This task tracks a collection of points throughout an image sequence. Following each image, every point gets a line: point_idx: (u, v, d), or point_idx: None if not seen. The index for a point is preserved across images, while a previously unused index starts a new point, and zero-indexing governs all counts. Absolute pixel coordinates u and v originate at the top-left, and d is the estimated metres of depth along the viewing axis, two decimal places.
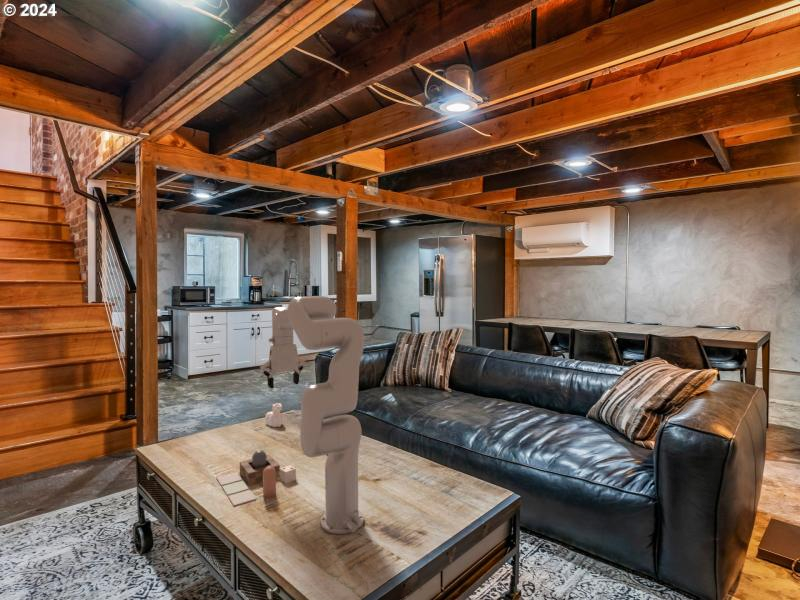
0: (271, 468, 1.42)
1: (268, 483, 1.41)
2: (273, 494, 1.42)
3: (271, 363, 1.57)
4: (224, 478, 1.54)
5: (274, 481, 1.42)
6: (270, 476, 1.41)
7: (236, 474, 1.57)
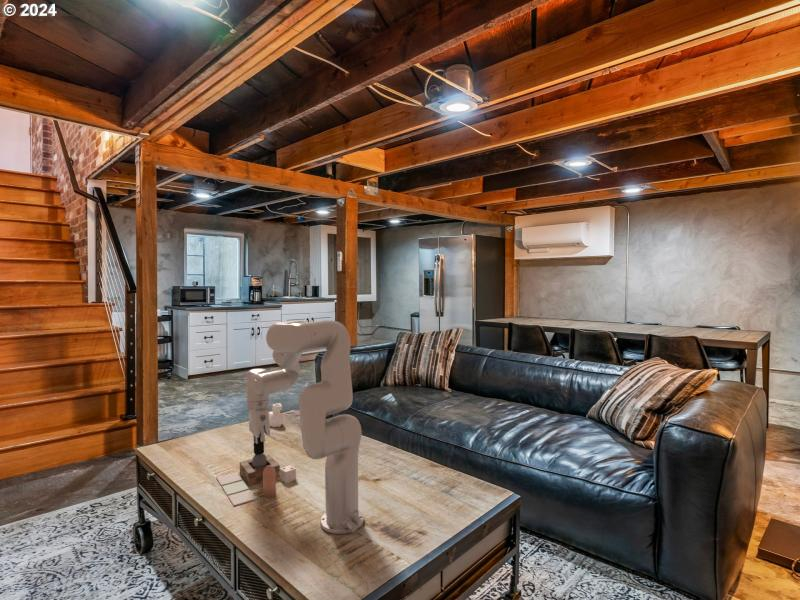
0: (271, 468, 1.42)
1: (268, 483, 1.41)
2: (273, 494, 1.42)
3: (266, 428, 1.53)
4: (224, 478, 1.54)
5: (274, 481, 1.42)
6: (270, 476, 1.41)
7: (236, 474, 1.57)
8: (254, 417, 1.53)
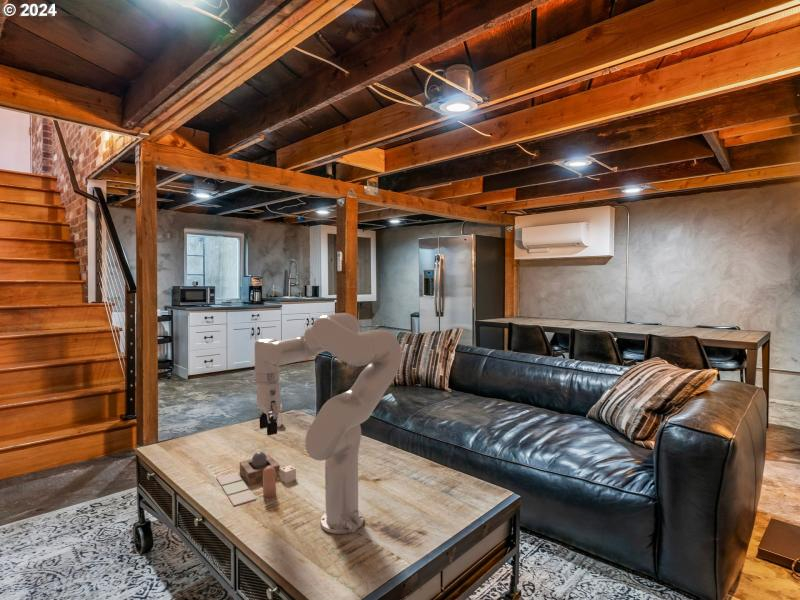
0: (271, 468, 1.42)
1: (268, 483, 1.41)
2: (273, 494, 1.42)
3: (277, 403, 1.38)
4: (224, 478, 1.54)
5: (274, 481, 1.42)
6: (270, 476, 1.41)
7: (236, 474, 1.57)
8: (263, 391, 1.37)
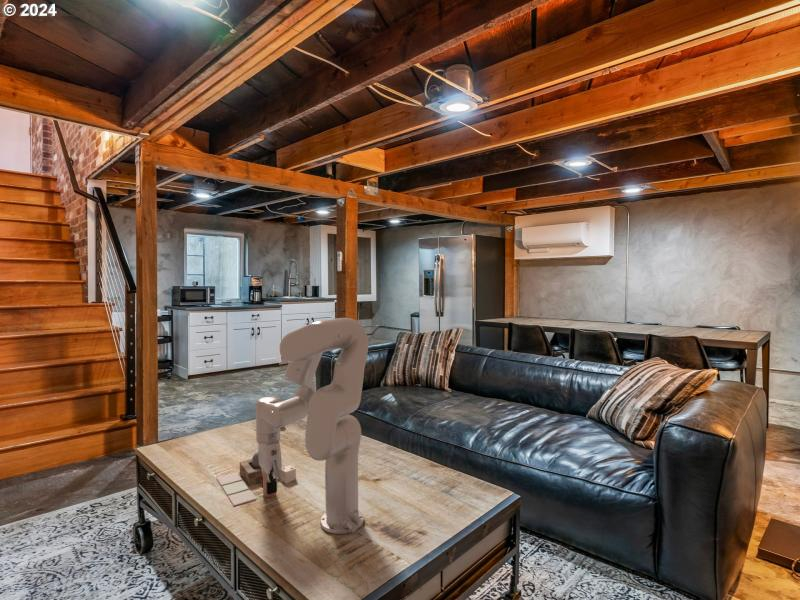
0: None
1: None
2: (273, 494, 1.42)
3: (278, 463, 1.39)
4: (224, 478, 1.54)
5: None
6: (270, 476, 1.41)
7: (236, 474, 1.57)
8: (264, 451, 1.39)
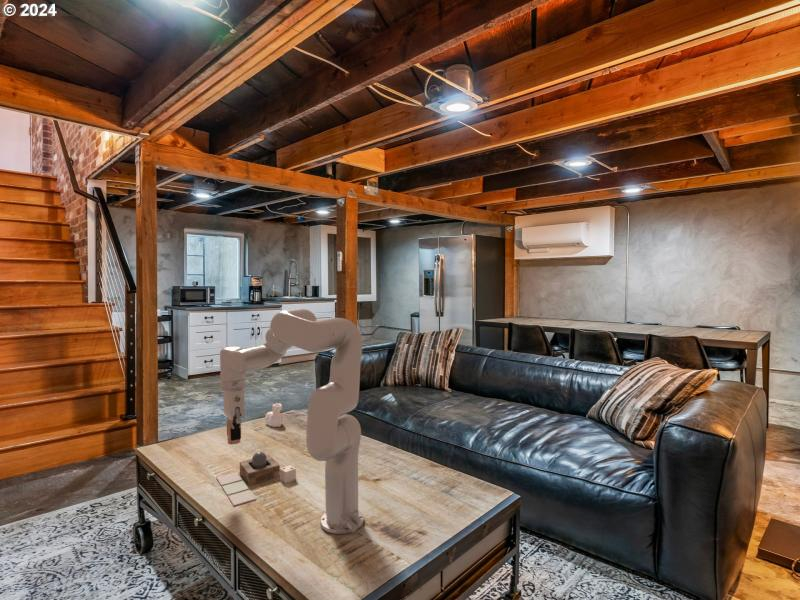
0: None
1: None
2: (237, 441, 1.45)
3: (241, 410, 1.43)
4: (224, 478, 1.54)
5: None
6: None
7: (236, 474, 1.57)
8: (228, 398, 1.42)
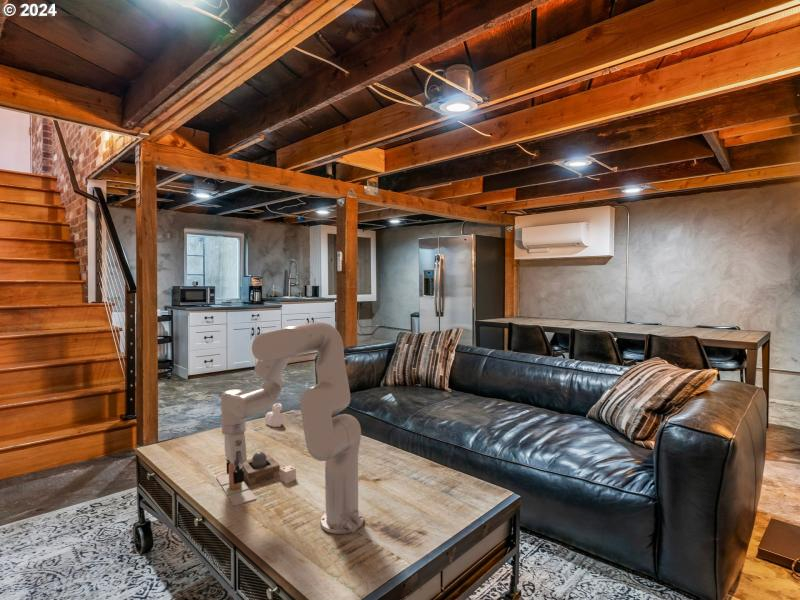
0: (237, 461, 1.46)
1: None
2: (238, 486, 1.46)
3: (242, 453, 1.43)
4: (224, 478, 1.54)
5: None
6: None
7: None
8: (229, 442, 1.43)
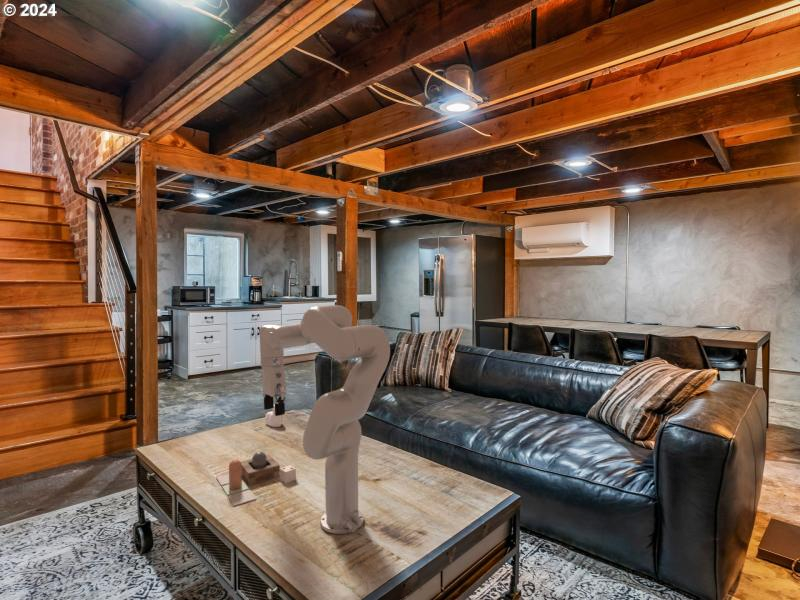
0: (237, 461, 1.46)
1: (234, 475, 1.45)
2: (238, 486, 1.46)
3: (283, 386, 1.43)
4: (224, 478, 1.54)
5: (240, 474, 1.47)
6: (236, 469, 1.45)
7: None
8: (269, 374, 1.43)
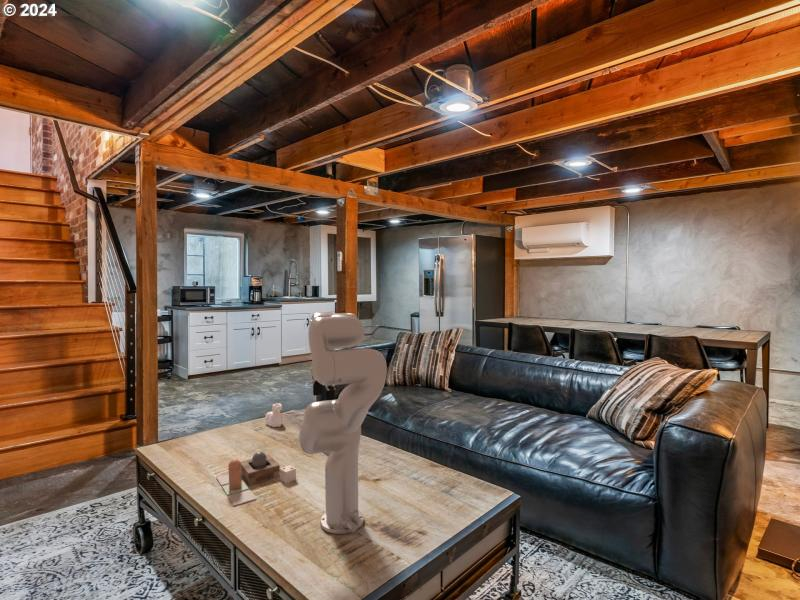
0: (236, 461, 1.47)
1: (233, 475, 1.45)
2: (238, 486, 1.46)
3: None
4: (224, 478, 1.54)
5: (239, 474, 1.47)
6: (235, 469, 1.46)
7: None
8: None
